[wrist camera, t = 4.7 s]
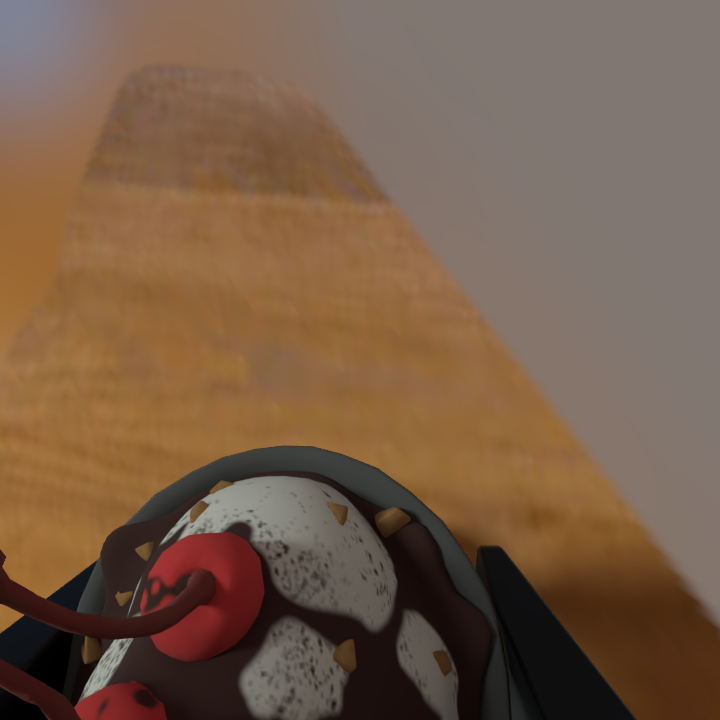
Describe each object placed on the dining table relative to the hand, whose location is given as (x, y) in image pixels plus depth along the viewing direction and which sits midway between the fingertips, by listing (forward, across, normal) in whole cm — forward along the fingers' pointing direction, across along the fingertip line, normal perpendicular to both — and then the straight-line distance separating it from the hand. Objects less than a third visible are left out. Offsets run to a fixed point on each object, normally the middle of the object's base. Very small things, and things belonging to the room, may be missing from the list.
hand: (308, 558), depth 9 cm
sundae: (+5, 0, +7) cm, 8 cm away
